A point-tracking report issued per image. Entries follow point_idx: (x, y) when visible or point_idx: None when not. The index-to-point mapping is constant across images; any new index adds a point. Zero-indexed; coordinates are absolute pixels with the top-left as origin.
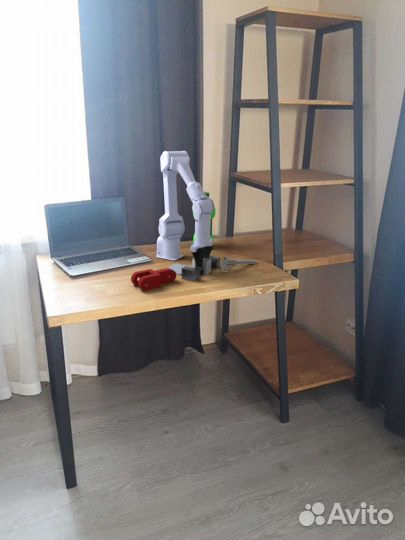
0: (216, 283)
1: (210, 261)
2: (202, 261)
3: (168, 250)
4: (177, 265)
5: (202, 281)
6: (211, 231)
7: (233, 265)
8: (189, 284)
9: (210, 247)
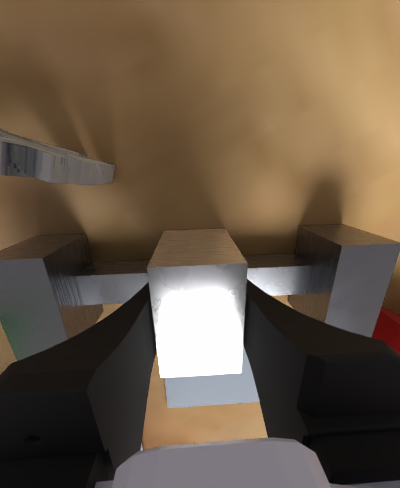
0: (322, 97)
1: (162, 258)
2: (248, 293)
3: None
4: (188, 391)
5: (322, 194)
6: None
7: None
8: (389, 229)
9: (90, 398)
